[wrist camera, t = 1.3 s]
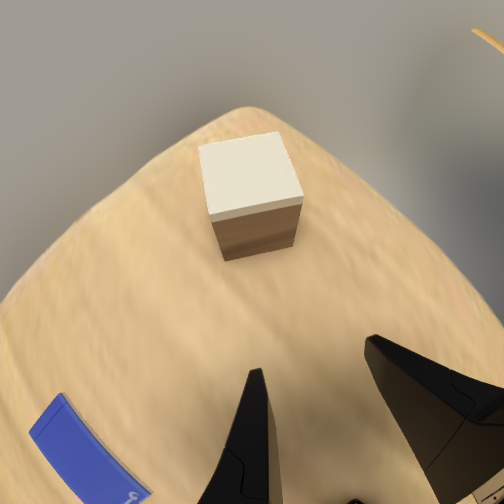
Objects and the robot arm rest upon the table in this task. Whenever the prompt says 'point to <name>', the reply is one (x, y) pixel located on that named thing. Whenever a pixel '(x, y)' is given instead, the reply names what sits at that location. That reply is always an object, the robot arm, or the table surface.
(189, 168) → the table surface
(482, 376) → the table surface
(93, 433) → the hard drive
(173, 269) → the table surface
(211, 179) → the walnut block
